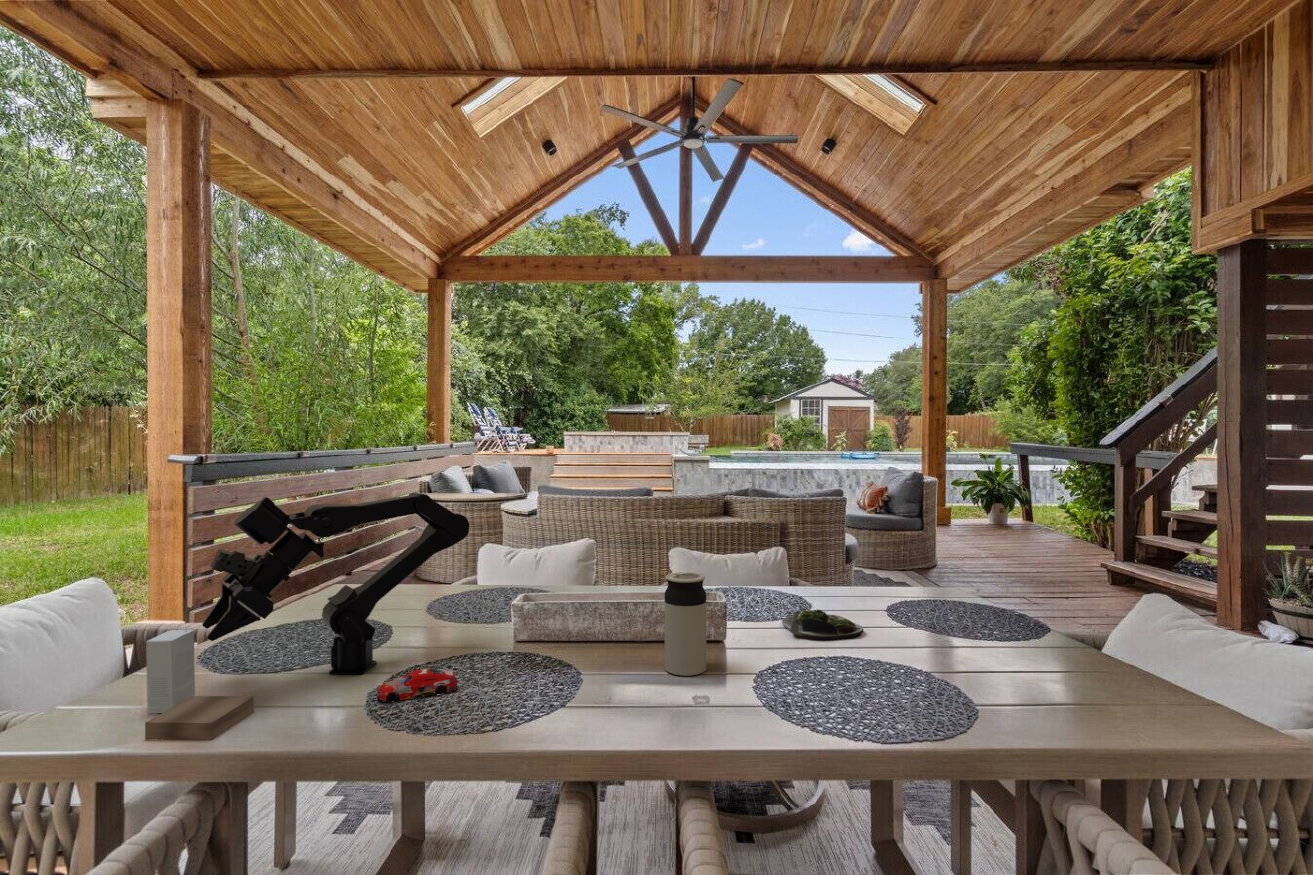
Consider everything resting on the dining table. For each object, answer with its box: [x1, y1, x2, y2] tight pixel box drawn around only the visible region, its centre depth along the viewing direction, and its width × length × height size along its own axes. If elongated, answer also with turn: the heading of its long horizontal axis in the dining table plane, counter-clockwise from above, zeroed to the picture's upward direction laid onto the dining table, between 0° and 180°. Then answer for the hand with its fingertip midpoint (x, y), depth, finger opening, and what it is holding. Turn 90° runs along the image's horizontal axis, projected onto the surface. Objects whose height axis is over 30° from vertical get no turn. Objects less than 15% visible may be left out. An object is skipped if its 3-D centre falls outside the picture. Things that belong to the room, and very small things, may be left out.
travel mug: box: [664, 571, 707, 677], centre depth 128 cm, size 8×8×18 cm
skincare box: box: [145, 629, 196, 715], centre depth 111 cm, size 6×4×12 cm
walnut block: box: [144, 695, 255, 741], centre depth 104 cm, size 10×10×3 cm
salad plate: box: [781, 608, 864, 642], centre depth 156 cm, size 19×18×5 cm
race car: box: [376, 667, 459, 703], centre depth 117 cm, size 13×5×4 cm, turn 113°
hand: (206, 632), depth 114 cm, fingers open, 9 cm apart
